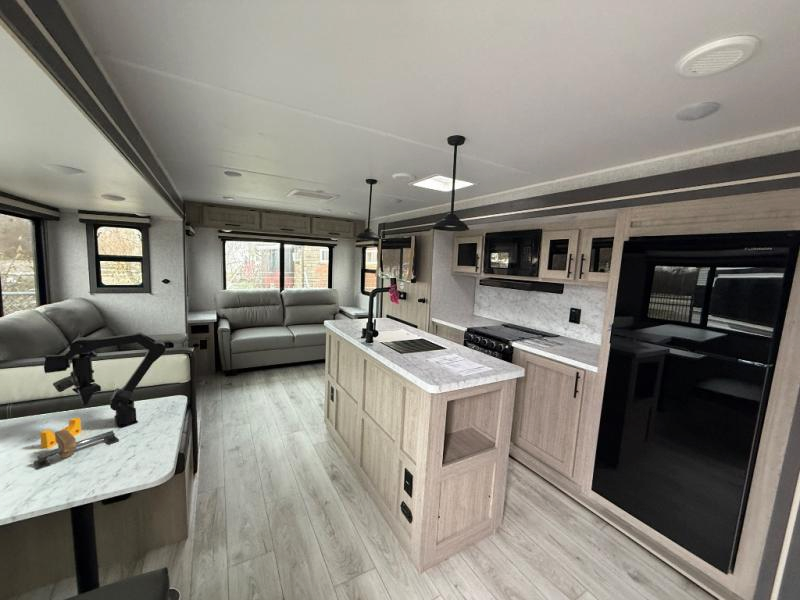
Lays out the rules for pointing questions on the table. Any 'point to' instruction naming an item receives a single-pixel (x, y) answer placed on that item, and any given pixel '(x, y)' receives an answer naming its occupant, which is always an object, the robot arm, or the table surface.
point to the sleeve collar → (65, 442)
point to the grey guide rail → (108, 437)
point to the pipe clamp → (48, 435)
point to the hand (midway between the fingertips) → (85, 404)
